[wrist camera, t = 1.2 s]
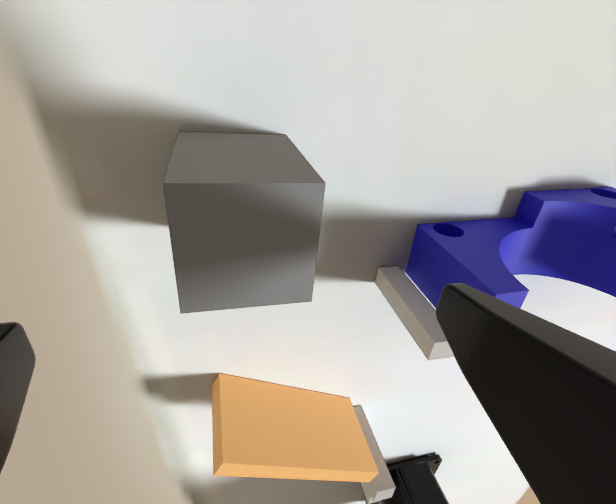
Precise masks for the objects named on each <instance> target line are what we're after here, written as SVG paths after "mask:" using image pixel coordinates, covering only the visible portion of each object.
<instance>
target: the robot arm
mask: <svg viewBox="0 0 616 504" xmlns="http://www.w3.org/2000/svg"><path fill="white" fill-rule="evenodd" d="M436 318H437V321H438V323H439V325H440V327H441V329H442V331H443V333H444V335H445V338H446V340H447V342H448V344H449V346H450V348H451V350H452V352H453V354H454V356H455V359H456V361H457V363H458V365H459V367H460V369H461V371H462V373H463V374H464V376H465V378H466V380H467V381H468V383H469V385H470V386H471V388H472V390H473V391H474V393H475V395H476V396H477V398H478V400H479V401H480V403H481V405H482V406H483V408H484V410H485V411H486V413H487V415H488V416H489V418H490V420H491V422H492V423H493V425H494V427H495V428H496V430H497V432H498V433H499V435H500V437H501V438H502V440H503V442H504V443H505V445H506V447H507V448H508V450H509V452H510V453H511V455H512V457H513V458H514V460H515V462H516V463H517V465H518V467H519V468H520V470H521V472H522V473H523V475H524V477H525V478H526V480H527V482H528V483H529V485H530V487H531V488H532V490H533V491H534V493H535V495H536V497H537V498H538V500H539V502H540V503H541V504H616V352H615V351H613V350H611V349H609V348H606V347H604V346H602V345H600V344H598V343H595V342H593V341H591V340H589V339H586V338H584V337H582V336H580V335H577V334H575V333H573V332H571V331H569V330H566V329H564V328H562V327H560V326H557V325H555V324H553V323H551V322H548V321H546V320H544V319H542V318H540V317H537V316H535V315H533V314H531V313H528V312H526V311H524V310H522V309H520V308H517V307H515V306H513V305H511V304H508V303H506V302H504V301H502V300H499V299H497V298H495V297H493V296H491V295H488V294H486V293H484V292H482V291H479V290H477V289H475V288H473V287H470V286H468V285H466V284H464V283H453V284H447V285H446V286H445V287H444V288H443V290H442V293H441V296H440V299H439V301H438V304H437V307H436ZM34 366H35V353H34V351H33V349H32V346H31V344H30V342H29V339H28V337H27V336H26V333H25V331H24V328H23V327H22V325H20V324H19V323H17V322H8V323H0V473H1V471H2V468H3V466H4V464H5V461H6V458H7V456H8V453H9V451H10V448H11V445H12V442H13V439H14V436H15V433H16V429H17V426H18V422H19V419H20V415H21V412H22V408H23V405H24V402H25V398H26V394H27V391H28V388H29V384H30V381H31V377H32V374H33V370H34ZM441 461H442V459H441V457H440V455H433V456H428V457H424V458H420V459H415V460H411V461H407V462H403V463H398V464H394V465H390V466H387V468H388V470H389V473H390V475H391V477H392V480H393V482H394V485H395V487H396V488H395V490H394V493H393V495H392V497H391V498H387V499H383V500H381V501H378V502H374V503H370V504H449V503H448V501H447V499H446V497H445V495H444V493H443V491H442V489H441V487H440V486H439V484H438V482H437V480H436V478H435V476H434V474H435V473H436V471H437V469H438V467H439V465H440V463H441ZM365 503H366V504H368V503H367V500H366V501H365Z"/></svg>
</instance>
